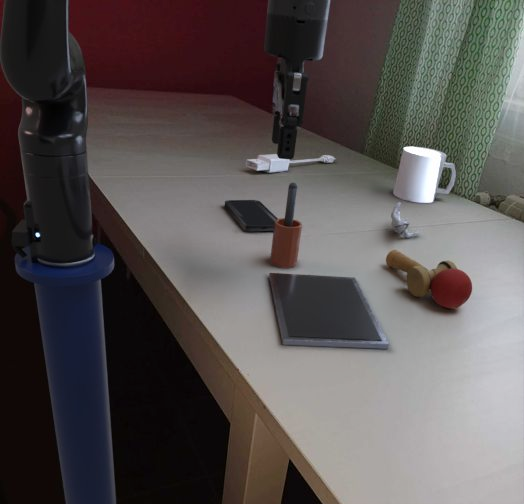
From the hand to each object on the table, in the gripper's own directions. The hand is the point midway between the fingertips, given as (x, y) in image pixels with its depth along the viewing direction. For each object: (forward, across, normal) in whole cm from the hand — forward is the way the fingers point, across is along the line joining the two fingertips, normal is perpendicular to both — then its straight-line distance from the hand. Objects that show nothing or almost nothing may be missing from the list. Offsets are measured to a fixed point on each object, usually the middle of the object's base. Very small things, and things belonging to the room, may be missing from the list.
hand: (281, 150), depth 74 cm
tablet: (+20, +9, +8) cm, 23 cm away
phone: (+20, -28, -1) cm, 34 cm away
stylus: (+19, -7, +3) cm, 20 cm away
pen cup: (+20, -7, +3) cm, 21 cm away
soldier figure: (+20, -26, +29) cm, 44 cm away
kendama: (+20, 0, +25) cm, 32 cm away
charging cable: (+20, -71, +12) cm, 75 cm away
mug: (+20, -52, +42) cm, 70 cm away
